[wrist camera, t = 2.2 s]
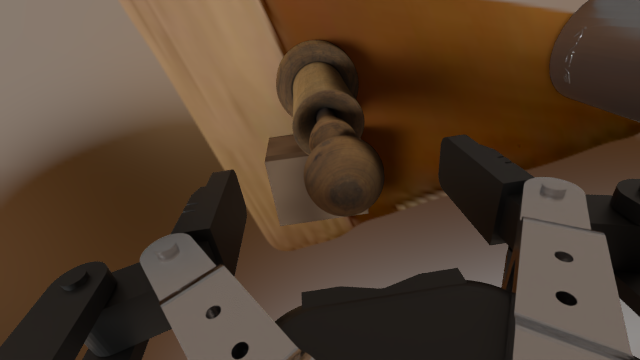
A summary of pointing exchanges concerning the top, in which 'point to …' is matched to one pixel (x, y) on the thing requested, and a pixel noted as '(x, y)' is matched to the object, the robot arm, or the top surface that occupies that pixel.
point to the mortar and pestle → (329, 127)
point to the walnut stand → (291, 183)
